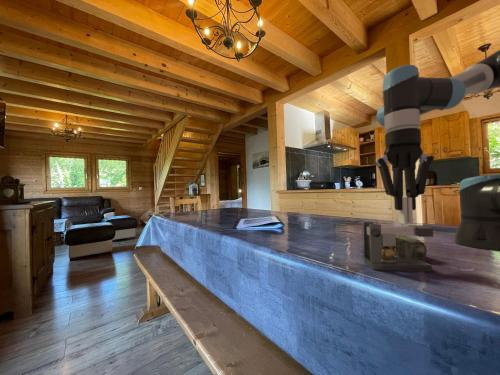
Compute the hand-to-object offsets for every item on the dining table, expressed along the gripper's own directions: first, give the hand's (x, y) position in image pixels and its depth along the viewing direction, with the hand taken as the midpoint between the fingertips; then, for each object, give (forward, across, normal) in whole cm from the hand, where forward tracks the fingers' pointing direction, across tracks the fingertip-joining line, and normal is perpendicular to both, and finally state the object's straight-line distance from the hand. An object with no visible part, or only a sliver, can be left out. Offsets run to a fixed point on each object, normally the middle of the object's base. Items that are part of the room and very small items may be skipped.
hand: (405, 222), depth 56 cm
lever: (+6, +2, 0) cm, 6 cm away
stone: (+12, -4, -11) cm, 16 cm away
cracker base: (+11, +3, 0) cm, 11 cm away
